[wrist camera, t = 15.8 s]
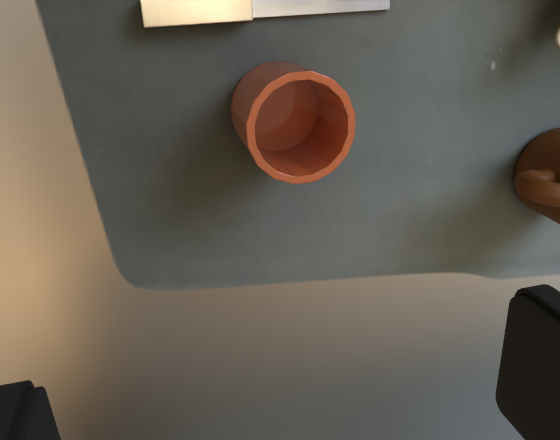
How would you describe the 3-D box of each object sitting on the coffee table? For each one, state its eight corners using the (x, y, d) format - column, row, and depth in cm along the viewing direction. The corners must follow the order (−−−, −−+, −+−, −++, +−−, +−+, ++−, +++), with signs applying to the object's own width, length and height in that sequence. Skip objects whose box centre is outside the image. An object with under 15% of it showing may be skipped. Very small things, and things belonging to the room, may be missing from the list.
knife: (144, 27, 32) (143, 27, 31) (139, -2, 32) (139, -2, 31) (387, 11, 36) (395, 11, 35) (388, -15, 35) (396, -16, 34)
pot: (234, 159, 37) (251, 190, 31) (225, 64, 34) (242, 76, 28) (322, 149, 38) (355, 176, 32) (320, 57, 36) (355, 67, 29)
